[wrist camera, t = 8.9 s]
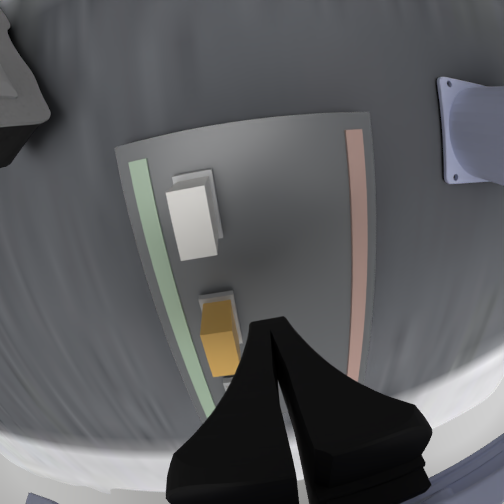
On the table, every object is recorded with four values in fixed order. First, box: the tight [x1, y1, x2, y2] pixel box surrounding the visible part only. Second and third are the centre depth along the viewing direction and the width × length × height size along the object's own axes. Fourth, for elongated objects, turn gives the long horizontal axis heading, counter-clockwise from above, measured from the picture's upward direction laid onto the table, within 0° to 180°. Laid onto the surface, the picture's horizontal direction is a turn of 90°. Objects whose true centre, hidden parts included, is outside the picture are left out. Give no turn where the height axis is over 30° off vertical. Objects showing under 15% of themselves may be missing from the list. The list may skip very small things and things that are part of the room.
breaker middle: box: [199, 290, 243, 377], centre depth 16 cm, size 2×4×4 cm, turn 8°
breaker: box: [166, 168, 223, 261], centre depth 14 cm, size 2×4×4 cm, turn 8°
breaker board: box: [115, 112, 376, 424], centre depth 19 cm, size 14×22×2 cm, turn 8°
